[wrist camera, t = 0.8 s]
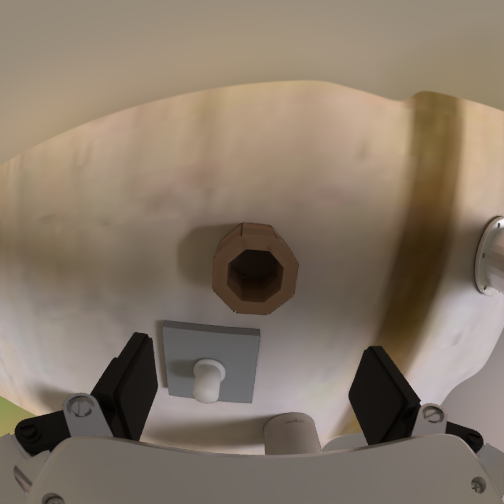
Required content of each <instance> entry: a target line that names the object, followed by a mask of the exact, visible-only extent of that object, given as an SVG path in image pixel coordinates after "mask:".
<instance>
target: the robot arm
mask: <svg viewBox="0 0 504 504" xmlns="http://www.w3.org/2000/svg"><path fill="white" fill-rule="evenodd" d="M475 279H476V284H477V286H478V289H479V290H480V291H481V292H482V293H483V294H485V295H487V296H494V295H497V294H498V293H499V292H501V293H503V294H504V217H498V218H496V219H494V220H493V221H492V222H491V223H490V224H489V225H488V227H487V228H486V230H485V232H484V234H483V236H482V238H481V240H480V244H479V246H478V250H477V254H476V261H475ZM157 388H158V382H157V375H156V367H155V359H154V350H153V341H152V338H149V336H148V334H144V333H138V332H135V333H134V334H133V335H132V337H131V338H130V340H129V341H128V343H127V344H126V346H125V347H124V349H123V350H122V352H121V354H120V355H119V357H118V358H116V357H115V358H113V359H112V361H111V362H110V364H109V365H108V367H107V368H106V370H105V371H104V373H103V375H102V376H101V378H100V379H99V381H98V382H97V384H96V386H95V387H94V389H93V390H92V392H91V394H90V395H89V394H86V393H76V394H73V395H71V396H69V397H68V398H67V399H66V400H65V401H64V404H63V410H61V411H57V412H54V413H50V414H46V415H41V416H37V417H33V418H29V419H25V420H22V421H21V422H19V423H18V425H17V426H16V428H15V434H13V435H10V434H9V433H8V434H6V435H4V436H2V437H0V504H504V503H503V500H502V497H503V495H504V453H503V452H501V451H500V450H498V449H496V448H495V447H493V446H491V445H489V444H488V443H486V444H485V445H484V443H483V438H482V436H481V435H480V433H478V432H477V431H475V430H473V429H470V428H466V427H463V426H460V425H457V424H454V423H451V422H448V421H447V413H446V411H445V410H444V409H443V408H442V407H440V406H439V405H436V404H432V403H428V404H424V405H423V406H421V405H420V404H419V403H420V401H421V400H420V399H419V397H418V396H417V395H416V393H415V392H414V390H413V389H412V387H411V386H410V385H409V383H408V382H407V380H406V379H405V378H404V376H403V375H402V373H401V372H400V371H399V369H398V368H397V366H396V365H395V364H394V362H393V361H392V360H391V358H390V357H389V356H388V354H387V353H386V352H385V350H384V349H383V347H382V346H369V347H368V348H367V349H366V350H365V351H364V353H363V356H362V358H361V361H360V364H359V367H358V370H357V372H356V375H355V378H354V380H353V383H352V386H351V388H350V391H349V400H350V403H351V405H352V407H353V410H354V412H355V414H356V417H357V419H358V421H359V424H360V426H361V429H362V431H363V433H364V436H365V438H366V440H367V443H368V445H369V446H365V447H359V448H352V449H345V450H338V451H330V452H320V453H308V454H291V455H240V454H223V453H211V452H202V451H193V450H186V449H179V448H172V447H166V446H160V445H155V444H149V443H145V442H139V440H140V437H141V434H142V431H143V428H144V425H145V423H146V420H147V417H148V414H149V411H150V409H151V406H152V403H153V400H154V398H155V395H156V392H157Z"/></svg>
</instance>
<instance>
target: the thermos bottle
mask: <svg viewBox="0 0 504 504" xmlns="http://www.w3.org/2000/svg"><path fill="white" fill-rule="evenodd" d="M264 445H265V455H291V454H308V453H320V452H322V450H321V446H320V442H319V438H318V434H317V431H316V427H315V423H314V420H313V419H312V418H311V417H310V416H308V415H306V414H302V413H286V414H282V415H279V416H276V417H274V418H272V419H271V420H270V421H268V422H267V423H266V425H265V427H264Z"/></svg>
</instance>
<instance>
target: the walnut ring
mask: <svg viewBox="0 0 504 504" xmlns="http://www.w3.org/2000/svg"><path fill="white" fill-rule="evenodd" d="M245 249H252V250H265V251H270V252H271V253H272V254H273V256H274V257H275V265H274V268H273V269H272V270H271V271H269V272H268V273H267V274H266V275H264V276H263V277H262V278H260V279H258V278H244V277H242V276H241V275H240V274H239V273H238V272H237V271H236V270H235V269H234V268H233V266H232V265H231V264H230V263H231V261H232V260H233V259H234V258H236V257H237V256H238V255H239V254H240V253H242V252H243V251H244V250H245ZM298 266H299V264H298V261H297V260H296V258H295V257H294V255H293V253H292V252H291V250H290V249H289V247H288V245H287V244H286V243H285V242H284V241H283V239H282V238H281V237H280V236H279V235H278V233H277V232H276V231H275V230H274V228H273V227H272V226H270V225H265V224H253V223H243V225H242V224H240V225H238V226H237V227H236V228H235V229H234V230H233V231H231V232H230V233H229V234H228V235H227V236H225V237H224V238H223V239H222V240H221V242H220V244H219V246H218V249H217V251H216V253H215V256H214V263H213V284H212V289H213V291H214V292H215V293H216V294H217V295H218V296H219V297H220V298H221V299H222V300H223V301H224V302H225V303H226V304H227V305H228V306H229V308H230V309H231V310H232V311H233V312H235V311H236V313H241V314H256V315H267V313H268V314H270V313H272V312H273V311H274V310H276V309H277V308H278V307H280V306H281V305H282V304H284V303H285V302H286V301H288V300H289V299H290V298H291V297H293V294H294V293H295V287H296V280H297V273H298Z"/></svg>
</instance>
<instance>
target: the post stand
mask: <svg viewBox="0 0 504 504" xmlns="http://www.w3.org/2000/svg"><path fill="white" fill-rule="evenodd" d="M162 331H163V344H164V355H165V365H166V375H167V383H168V391H169V395H172V396H178V397H186V398H193V399H196V400H197V401H199V402H202V403H207V404H208V403H213V402H215V401H222V402H236V403H252V397H253V389H254V382H255V374H256V366H257V358H258V351H259V342H260V329H248V328H234V327H222V326H211V325H201V324H191V323H182V322H174V321H165V322H164V324H163V326H162Z"/></svg>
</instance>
